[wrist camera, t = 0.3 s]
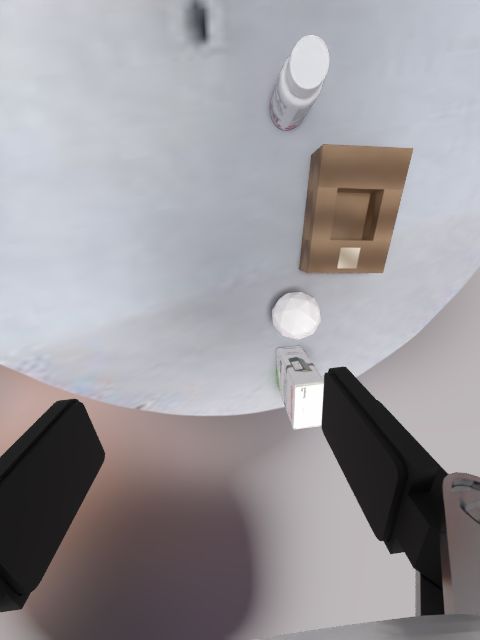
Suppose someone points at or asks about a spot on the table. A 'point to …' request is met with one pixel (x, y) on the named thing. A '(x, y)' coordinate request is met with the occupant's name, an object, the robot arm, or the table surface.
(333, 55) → the table surface
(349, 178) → the brown flat recessed slab
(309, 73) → the pill bottle
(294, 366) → the ink box
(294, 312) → the geometric ball
